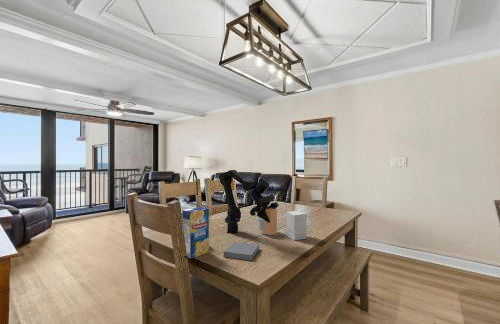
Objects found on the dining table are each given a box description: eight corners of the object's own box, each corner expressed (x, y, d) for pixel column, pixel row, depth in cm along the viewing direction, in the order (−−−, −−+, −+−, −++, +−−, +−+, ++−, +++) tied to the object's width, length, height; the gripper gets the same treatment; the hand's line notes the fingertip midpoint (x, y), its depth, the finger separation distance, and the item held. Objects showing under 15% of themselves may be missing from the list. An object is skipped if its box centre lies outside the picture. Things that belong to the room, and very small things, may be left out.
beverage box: (182, 254, 113) (182, 210, 113) (200, 248, 121) (200, 206, 121) (190, 259, 108) (190, 212, 108) (208, 252, 116) (209, 208, 116)
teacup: (275, 229, 156) (275, 214, 156) (275, 236, 141) (275, 220, 141) (257, 228, 157) (257, 213, 157) (256, 235, 142) (256, 219, 142)
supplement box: (307, 238, 137) (307, 213, 137) (294, 240, 133) (294, 215, 133) (298, 234, 145) (298, 210, 145) (286, 236, 142) (286, 211, 142)
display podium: (223, 256, 111) (223, 251, 111) (234, 246, 124) (234, 241, 124) (251, 260, 107) (251, 255, 107) (259, 249, 120) (259, 244, 120)
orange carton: (264, 233, 125) (264, 209, 125) (270, 231, 129) (270, 208, 129) (271, 235, 122) (271, 210, 122) (276, 233, 125) (276, 209, 125)
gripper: (253, 191, 122) (268, 215, 114) (276, 188, 134) (291, 210, 126) (243, 203, 127) (257, 228, 120) (266, 200, 140) (280, 221, 132)
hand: (272, 221), depth 124 cm, fingers closed on orange carton, 5 cm apart
